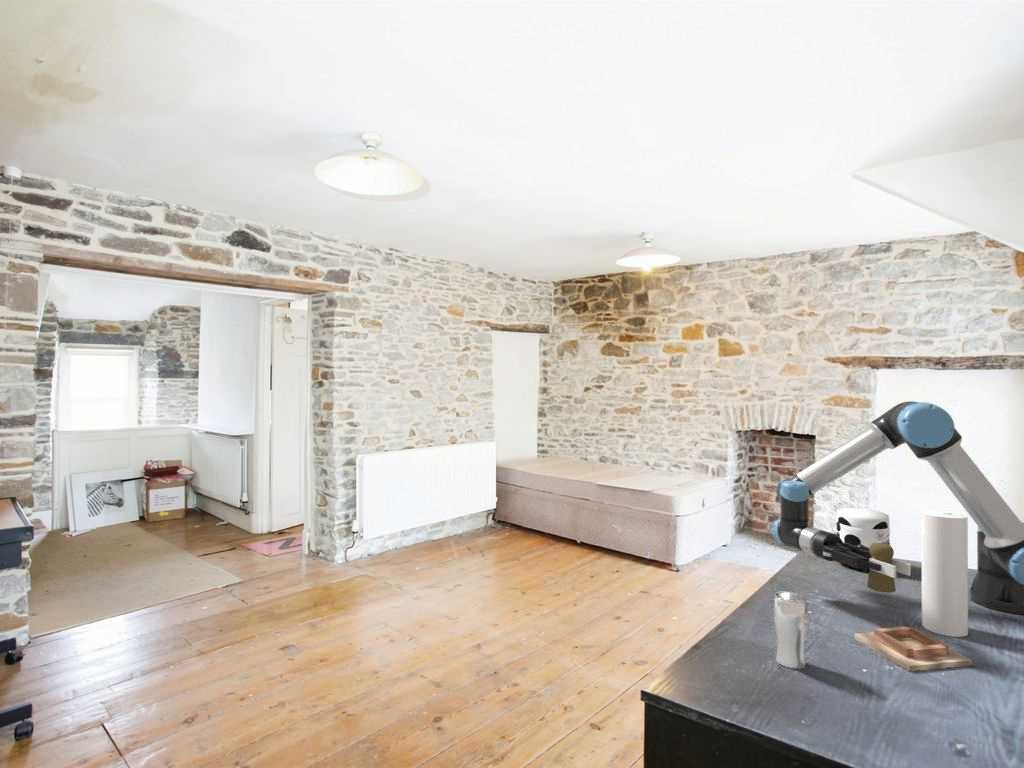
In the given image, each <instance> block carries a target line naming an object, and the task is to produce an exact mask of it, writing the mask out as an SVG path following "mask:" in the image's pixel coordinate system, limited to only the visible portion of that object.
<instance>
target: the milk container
mask: <svg viewBox="0 0 1024 768" xmlns="http://www.w3.org/2000/svg"><path fill="white" fill-rule="evenodd" d="M835 525H836V527H835V529H836V533H835V534H836V535H838V536H839V537H840V538H841V540H842V542H845V543H849V544H851V545H854V546H858V544H862V545H864V546H866V547H870V545H871V544H873V543H883V544H887V545H890V546H891V547H892V545H891V542H890V541H891V540H890V536H891V535H890V533H891V528H890V517H889V514H887V513H884V512H881V511H879V510H874V509H866V508H856V507H853V508H852V507H851V508H850V507H845V508H839V509H837V511H836V523H835ZM893 557H894V556H893ZM893 557H892V558H893ZM893 559H894V558H893ZM860 569H861V570H863V568H862V567H860ZM868 571H870V569H869V568H868Z"/></svg>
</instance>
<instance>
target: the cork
mask: <svg viewBox="0 0 1024 768" xmlns="http://www.w3.org/2000/svg"><path fill="white" fill-rule="evenodd" d="M890 545H891V544H890ZM890 545H887V544H883V543H873V544H871V545H870V547H869V552H870V554H871V556H872V558H873V559H875V560H879V561H882V562H885V563H888V564H891V565H892V562H891V558H892V557H894V554H895V552H894V548H893V547H892V545H891V546H890ZM895 582H896V581H895V578H893V577H890V576H887V575H884V574H882V573H879V572H876V571H873V570H868V578H867V585H866V587H867V588H868V589H870V590H873V591H877V592H880V593H895V592H896V590H897V589H896V583H895Z"/></svg>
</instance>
